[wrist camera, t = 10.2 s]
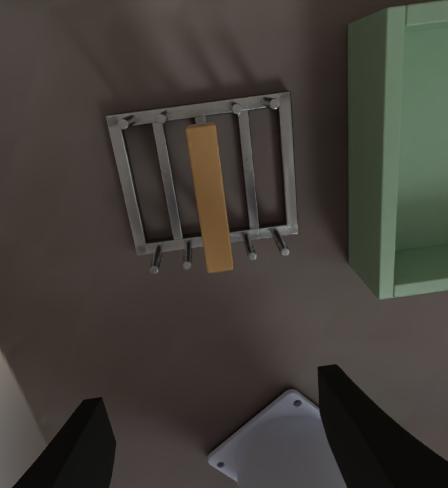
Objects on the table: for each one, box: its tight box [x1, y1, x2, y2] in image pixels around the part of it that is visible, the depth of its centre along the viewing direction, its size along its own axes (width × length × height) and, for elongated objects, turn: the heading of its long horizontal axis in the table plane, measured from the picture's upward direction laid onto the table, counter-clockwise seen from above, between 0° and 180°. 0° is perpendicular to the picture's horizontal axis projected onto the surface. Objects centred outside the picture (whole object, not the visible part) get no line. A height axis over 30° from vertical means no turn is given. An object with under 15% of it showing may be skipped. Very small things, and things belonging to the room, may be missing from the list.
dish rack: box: [106, 91, 299, 274], centre depth 17 cm, size 8×7×5 cm
